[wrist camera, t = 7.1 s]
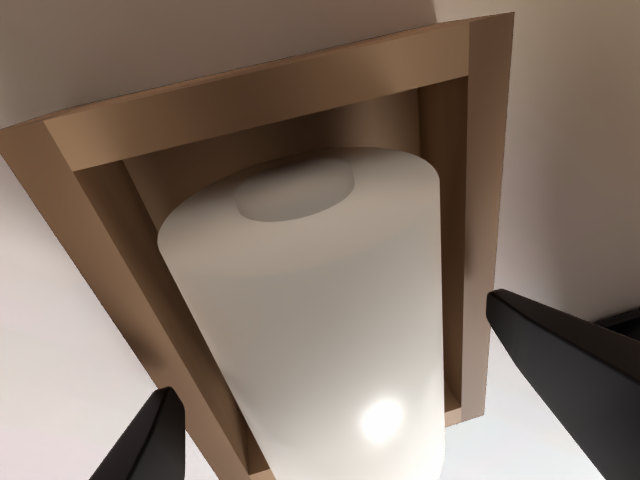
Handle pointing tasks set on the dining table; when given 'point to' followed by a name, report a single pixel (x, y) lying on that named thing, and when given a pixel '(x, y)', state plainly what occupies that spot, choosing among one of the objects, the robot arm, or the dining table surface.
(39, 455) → the dining table surface
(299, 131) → the walnut cradle
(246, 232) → the paper roll
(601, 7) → the dining table surface
